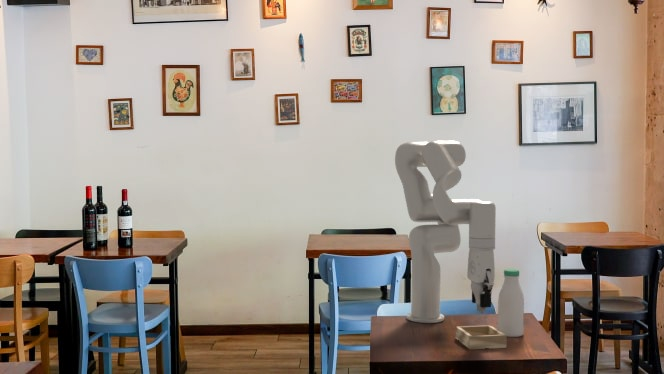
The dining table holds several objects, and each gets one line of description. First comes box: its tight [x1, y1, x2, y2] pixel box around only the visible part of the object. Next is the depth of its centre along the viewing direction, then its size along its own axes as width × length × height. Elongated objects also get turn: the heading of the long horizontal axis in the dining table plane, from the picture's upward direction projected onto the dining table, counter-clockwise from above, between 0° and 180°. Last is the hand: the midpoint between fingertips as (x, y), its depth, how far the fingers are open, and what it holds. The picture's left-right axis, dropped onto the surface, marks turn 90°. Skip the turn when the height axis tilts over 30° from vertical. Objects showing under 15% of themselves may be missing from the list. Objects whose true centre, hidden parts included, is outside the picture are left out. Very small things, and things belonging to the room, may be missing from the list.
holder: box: [455, 324, 508, 350], centre depth 212 cm, size 12×11×4 cm
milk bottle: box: [497, 268, 525, 338], centre depth 221 cm, size 8×8×20 cm
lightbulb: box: [470, 281, 487, 314], centre depth 211 cm, size 6×6×11 cm
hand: (481, 304), depth 211 cm, fingers closed on lightbulb, 5 cm apart
